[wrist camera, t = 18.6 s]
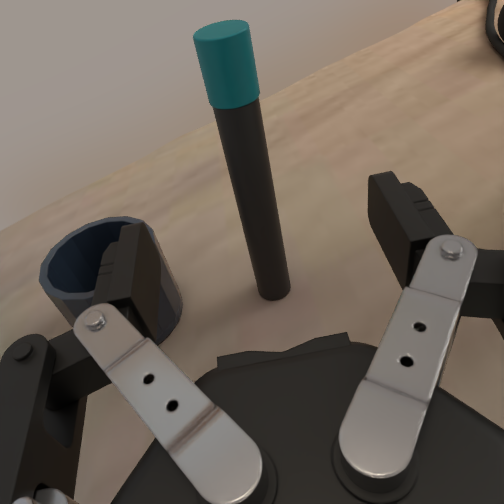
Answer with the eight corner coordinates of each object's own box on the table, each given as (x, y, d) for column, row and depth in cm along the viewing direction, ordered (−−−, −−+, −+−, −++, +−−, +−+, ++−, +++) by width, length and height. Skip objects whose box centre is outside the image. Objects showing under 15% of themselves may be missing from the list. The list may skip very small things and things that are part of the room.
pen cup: (129, 268, 33) (96, 208, 29) (201, 292, 30) (177, 228, 26) (63, 338, 29) (15, 280, 25) (139, 375, 26) (98, 314, 22)
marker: (267, 271, 30) (211, 19, 19) (297, 280, 29) (258, 18, 18) (250, 296, 29) (181, 39, 17) (282, 306, 28) (229, 39, 16)
